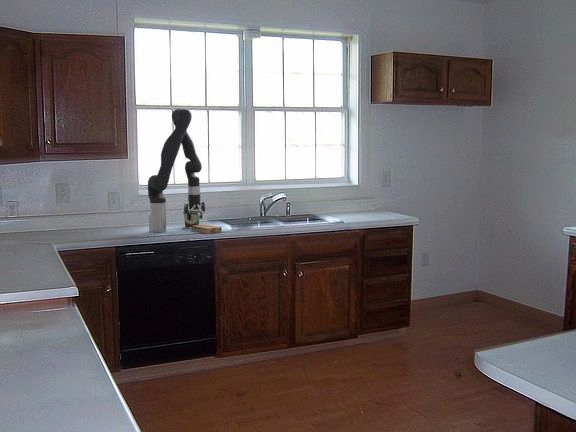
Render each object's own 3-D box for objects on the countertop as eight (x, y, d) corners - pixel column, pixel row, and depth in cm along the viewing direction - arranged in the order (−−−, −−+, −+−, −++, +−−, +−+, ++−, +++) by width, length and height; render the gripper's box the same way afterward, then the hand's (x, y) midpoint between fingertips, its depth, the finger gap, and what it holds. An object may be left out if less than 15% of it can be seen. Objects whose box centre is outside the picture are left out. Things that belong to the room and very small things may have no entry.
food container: (205, 227, 390) (204, 211, 389) (198, 228, 385) (198, 212, 384) (189, 225, 397) (189, 210, 395) (183, 227, 392) (183, 211, 390)
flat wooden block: (208, 233, 365) (208, 228, 365) (191, 230, 376) (191, 225, 376) (221, 232, 372) (221, 227, 372) (205, 229, 383) (204, 224, 383)
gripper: (188, 194, 381) (189, 221, 383) (207, 193, 390) (207, 218, 393) (181, 194, 386) (181, 220, 388) (199, 192, 396) (200, 217, 398)
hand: (194, 219), depth 390 cm, fingers open, 8 cm apart
